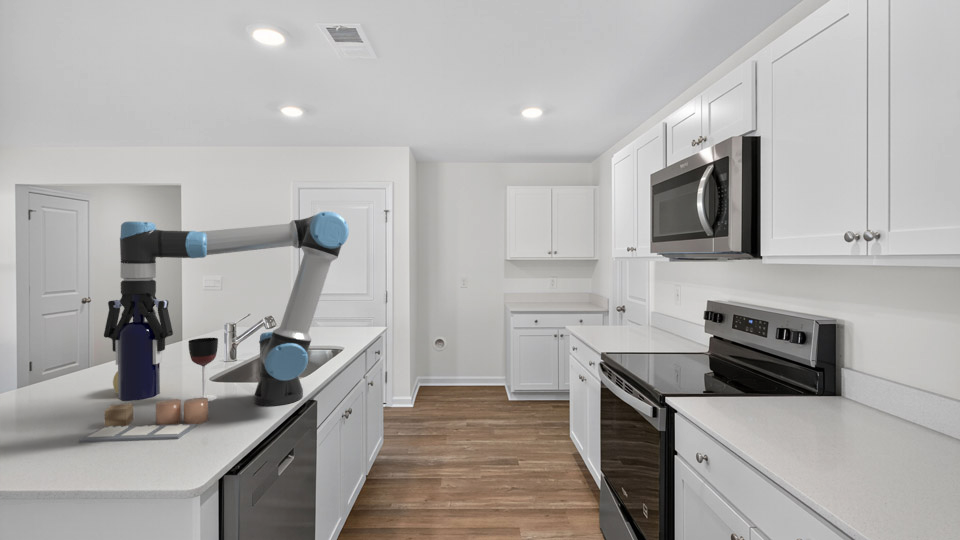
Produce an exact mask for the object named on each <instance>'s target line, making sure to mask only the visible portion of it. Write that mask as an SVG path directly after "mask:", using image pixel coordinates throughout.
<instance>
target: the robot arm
mask: <svg viewBox="0 0 960 540" xmlns="http://www.w3.org/2000/svg"><path fill="white" fill-rule="evenodd" d="M349 231H350V230H349V226H348V222H347V221H346V219H344V218H343V216H341V215H340V214H338V213H336V212H333V211H320V212H318V213H316V214H313V215H312V216H309V217H307V218H301V219H294V220H291V221H290V222H289V223H283V224H282V223H281V224H271V225H269V224H268V225H260V226H248V227H237V228H227V229H225V228H223V229H216V230H203V231H195V230H162V229H157V227H156V224H155V223H154V222H150V221H149V222H148V221H125V222H122V224H121V225H120V237H119V245H120V246H119V249H120V250H119V251H120V254H119V255H120V279H123V280H121V281H120V294H121V298H120V299H114V300H108V302H107V305H108V313H107V318H106V322H105V326H104V327H105V328H104V333H103V337H104V338H108V339H111V341H112V352H115V365H116V366H118V331H119V330H120V329H121V328H122V327H123V326H124V324H127V323H131V320H132V319H133V314H134V307H133V305H134V303H133V298H132V295H140V298H139V302H137V306H138V308H139V314H143V316H144V317H145V321H147V322H148V324H149V325H150V327H151V329H152V330H153V333H154V335H155V337H156V338H155V340H153V364H158V363H163V351H165V350H166V339H167V338H168V337H171V336H173V335H174V331H173V327H172V326H173V325H172V322H171V318H170V313H169V309H168V308H169V300H167V299H165V300H160V299H157V297H156V293H157V281H156V280H155V278H156V277H157V276H156V274H157V271H156V270H157V262H156V261H157V258H159V259H162V258H163V259H164V258H168V259H169V258H173V259H174V258H176V259H177V258H178V259H181V258H182V259H199V258H200V259H201V258H202V259H203V258H205V257H207V256H210V255H211V256H213V255H221V254H230V253H239V252H248V251H257V250H266V249H276V248H284V247H285V248H286V247H293V248H295V249H301V251H302V252H303V256H302V260H301V262H300V265H299V268H298V272H297V274H296V277H295V280H294V284H293V286H292V290H291V292H290V296H289V298H288V303H287V305H286V308H285V311H284V314H283V317H282V320H281V321H280V322H281V323H280V326H279V327H277V328H275V329H273V330H272V331H268V332H267V331H266V332H263V333H261V334H260V335H259V341H258V343H259V379H258V382H257V385H256V389H255V391H254V394H253V403H254V404H257V405H260V406H266V407H267V406H269V407H270V406H271V407H272V406H273V407H274V406H282V405H287V404H292V403H295V402H298V401H299V400H301V399H303V397H304V390H303V386H302V384H301V380H300V376H301V375H302V374H303V372H305V370H306V368H307V367H308V361H309V355H308V352H309V348H310V345H311V342H312V338H311V336H310V334H309V332H310V329H311V326H312V322H313V320H314V317H315V313H316V310H317V307H318V304H319V301H320V298H321V294H322V291H323V288H324V286H325V282H326V279H327V276H328V273H329V270H330V267H331V263H332V262H333V261H335V260H337V259H338V257H339V254H340V251H341V249H342V246H343V245H344V244H345V243H346V241H347V240H348V237H349ZM121 307H123V311H122V312H121ZM154 307H156V308H157V313H158V317H157V313H156V311H155V309H154ZM120 312H121V314H120ZM120 315H121V316H120ZM119 317H120V319H119ZM158 318H159V319H158Z"/></svg>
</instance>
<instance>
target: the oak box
mask: <svg viewBox="0 0 960 540" xmlns="http://www.w3.org/2000/svg"><path fill="white" fill-rule="evenodd" d="M132 420H134V403H133V402H132V403H123V404H112V405H110V406H109V407H108V408H106V409H105V410H104V427H105V426H129V424H131V423H132V422H133V421H132Z"/></svg>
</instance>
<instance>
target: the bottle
mask: <svg viewBox="0 0 960 540" xmlns="http://www.w3.org/2000/svg"><path fill="white" fill-rule="evenodd" d="M132 298H133V303H134V305H133V307H134V314H133V317H132V321H130V322H129V323H127V324H124V326H123V327H122V328H121V329H120V330H119V331H118V365H117V371H118V393H117V395H118V396H117V399H118V401H122V402H130V401H131V402H134V401H135V402H136V401H142V400H146V399H150V398H155V397H157V396H158V395H160V394H161V390H160V389H161V387H160V385H161V384H160V383H161V380H160V378H161V377H160V374H161V373H160V368H161V367H160V363H161V362H160V363H158V364H153V340H155V338H156V337H155V335H154V333H153V330H152V329H151V327H150V325H149V324H148V322H147V320H146V318H145V317H144V316H143V314H139V308H138V306H137V302H139V298H140V295H132Z"/></svg>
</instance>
